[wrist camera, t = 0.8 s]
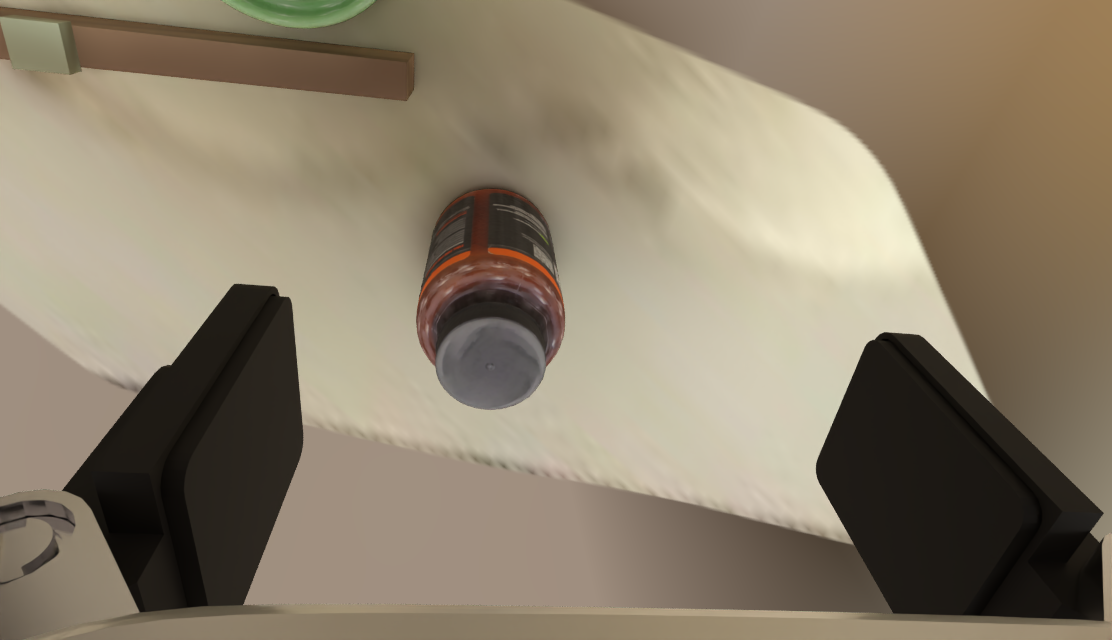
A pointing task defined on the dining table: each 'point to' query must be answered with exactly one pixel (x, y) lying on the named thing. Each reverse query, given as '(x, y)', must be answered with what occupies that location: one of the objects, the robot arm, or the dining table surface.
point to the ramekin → (301, 11)
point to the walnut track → (199, 55)
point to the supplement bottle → (491, 299)
